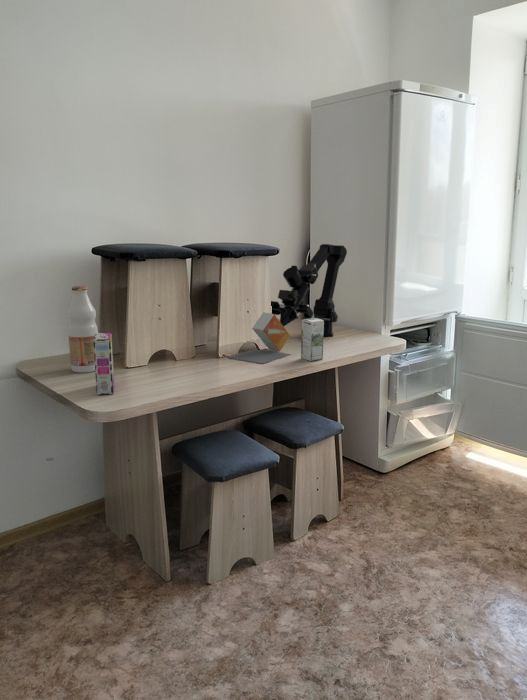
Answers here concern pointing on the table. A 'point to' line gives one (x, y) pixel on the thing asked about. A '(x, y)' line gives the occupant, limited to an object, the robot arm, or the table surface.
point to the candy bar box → (104, 363)
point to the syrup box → (312, 339)
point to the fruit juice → (81, 331)
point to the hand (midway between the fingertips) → (280, 326)
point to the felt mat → (259, 356)
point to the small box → (271, 331)
